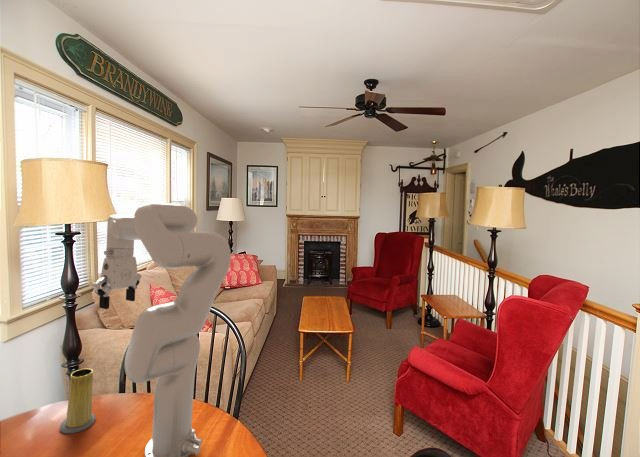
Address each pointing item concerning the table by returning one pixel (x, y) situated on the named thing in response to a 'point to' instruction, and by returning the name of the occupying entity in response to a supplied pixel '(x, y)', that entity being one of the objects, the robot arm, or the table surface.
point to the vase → (80, 398)
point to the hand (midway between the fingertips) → (117, 304)
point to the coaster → (76, 429)
